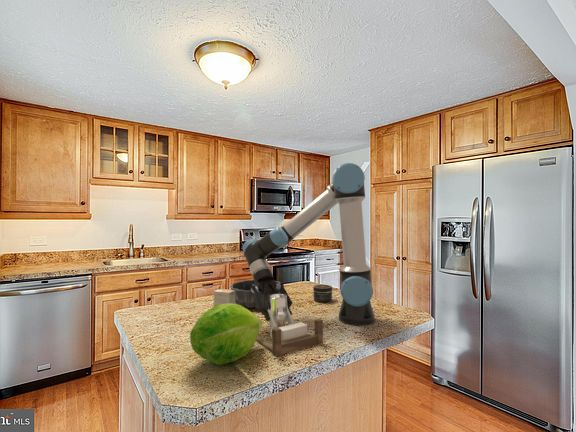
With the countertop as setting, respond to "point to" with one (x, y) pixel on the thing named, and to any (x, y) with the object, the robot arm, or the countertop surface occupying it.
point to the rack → (295, 344)
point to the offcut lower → (295, 337)
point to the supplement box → (224, 297)
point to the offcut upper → (293, 330)
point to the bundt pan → (246, 293)
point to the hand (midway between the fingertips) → (283, 326)
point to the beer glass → (278, 309)
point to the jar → (322, 293)
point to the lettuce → (225, 333)
